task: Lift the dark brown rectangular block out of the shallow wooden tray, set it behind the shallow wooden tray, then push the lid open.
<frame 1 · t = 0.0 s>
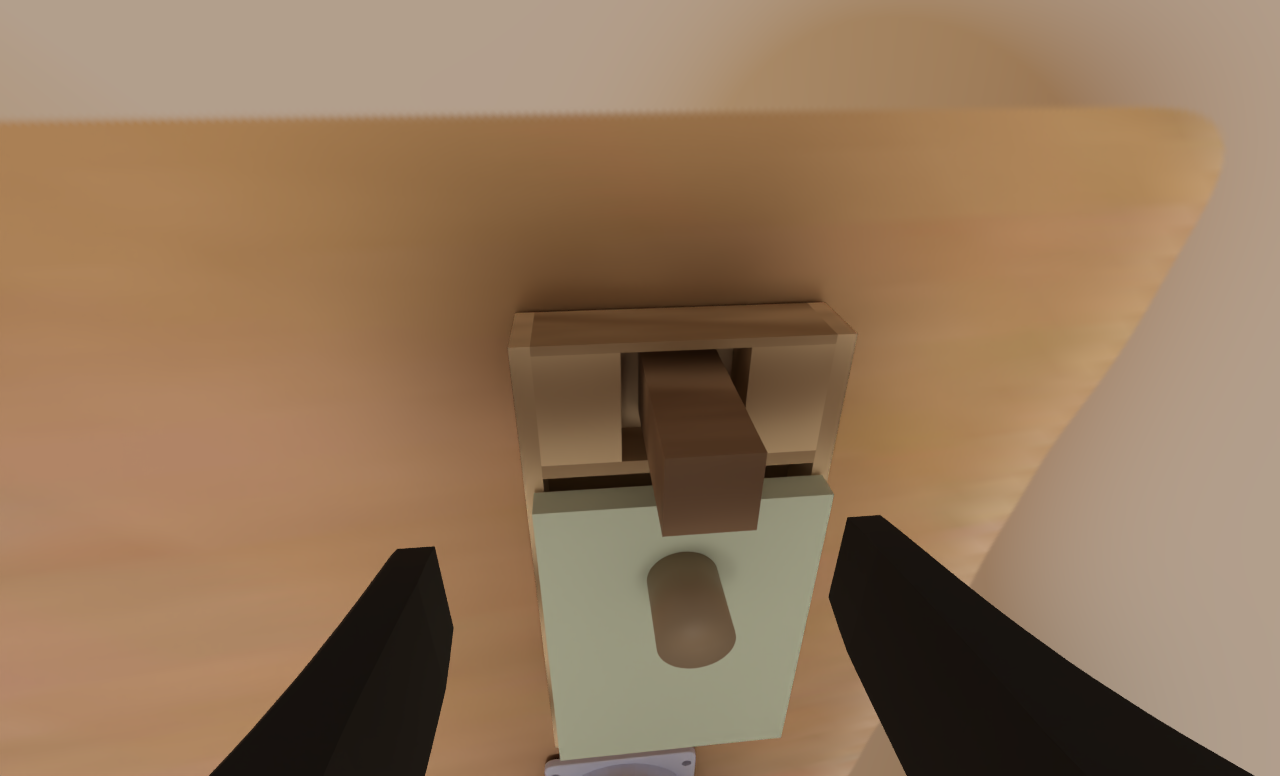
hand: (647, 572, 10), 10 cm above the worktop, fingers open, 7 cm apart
shallow wooden tray: (665, 539, 23), on the worktop
dark brown rectangular block: (674, 376, 19), point 1 cm above the worktop, touching shallow wooden tray
lid: (681, 664, 21), point 4 cm above the worktop, slide at 0.0 cm
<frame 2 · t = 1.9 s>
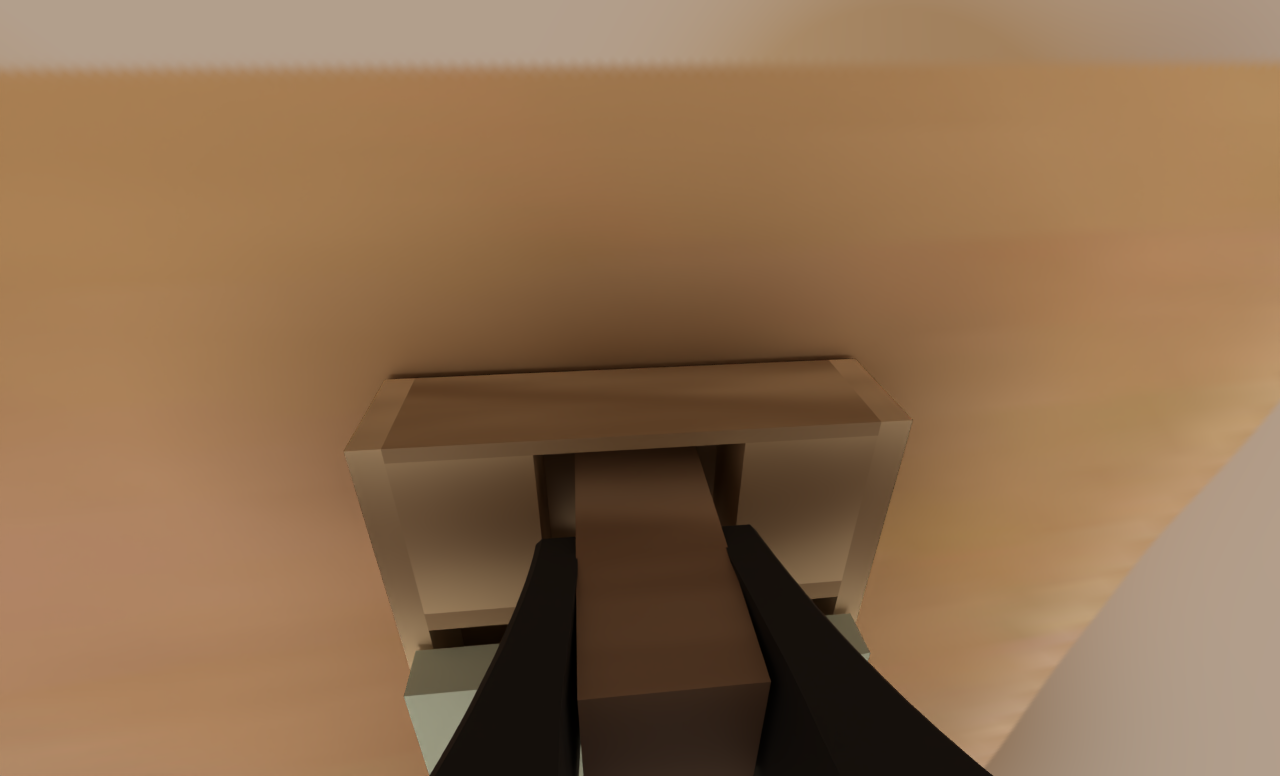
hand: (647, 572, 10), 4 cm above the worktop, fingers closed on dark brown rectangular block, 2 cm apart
shallow wooden tray: (630, 666, 17), on the worktop
dark brown rectangular block: (631, 469, 13), point 1 cm above the worktop, touching gripper, shallow wooden tray
when the fingers open (4 cm above the worktop, at t = 4.3 s): dark brown rectangular block stays where it is, on the worktop.
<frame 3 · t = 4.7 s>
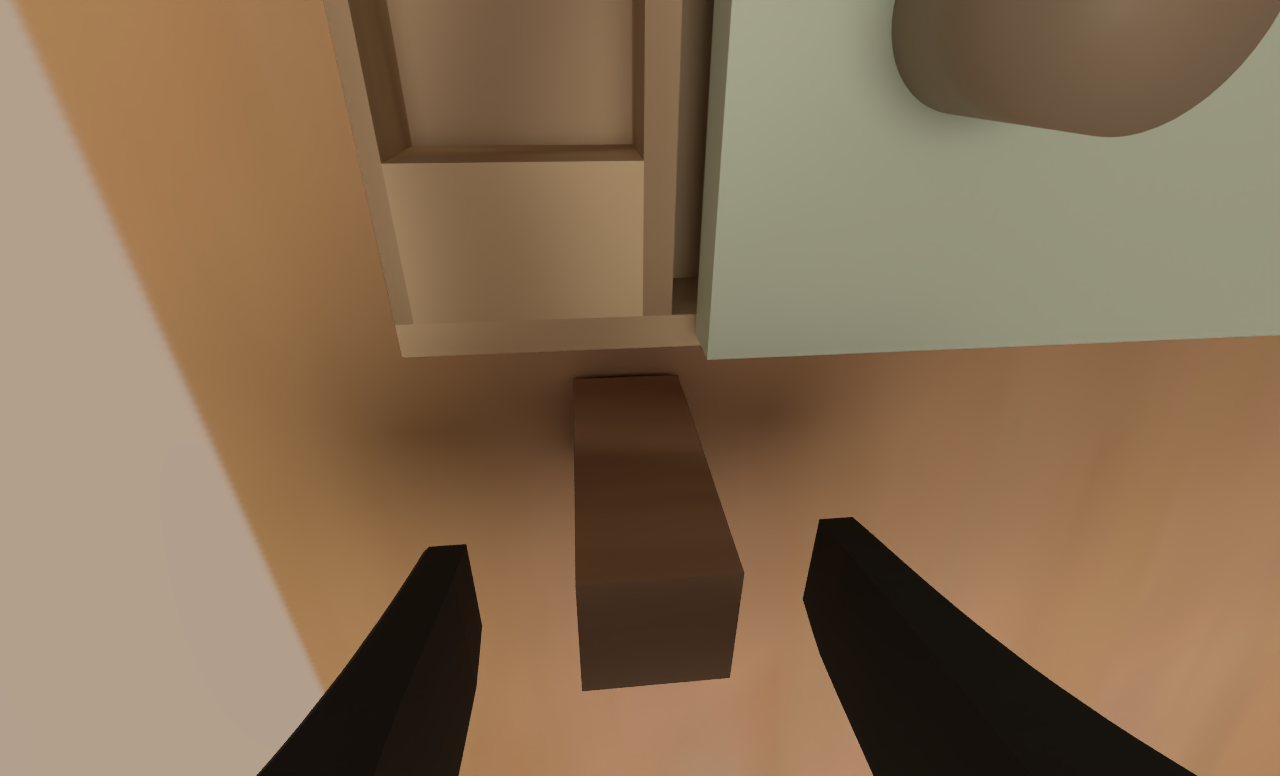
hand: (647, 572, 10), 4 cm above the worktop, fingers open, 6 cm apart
shallow wooden tray: (955, 23, 10), on the worktop
dark brown rectangular block: (626, 420, 14), on the worktop
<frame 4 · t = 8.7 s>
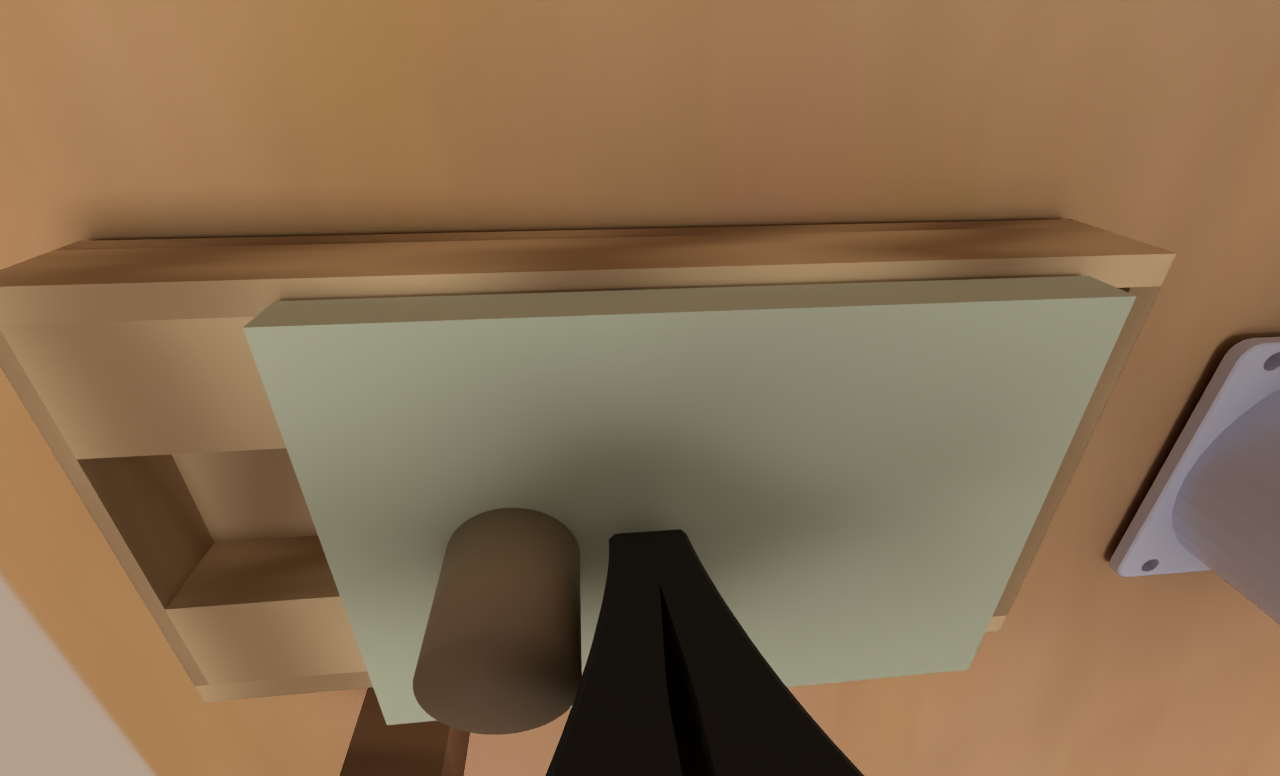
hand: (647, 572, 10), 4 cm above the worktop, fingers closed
shallow wooden tray: (627, 437, 14), on the worktop
dark brown rectangular block: (430, 671, 17), on the worktop
lid: (710, 575, 10), point 4 cm above the worktop, slide at 0.6 cm, touching gripper
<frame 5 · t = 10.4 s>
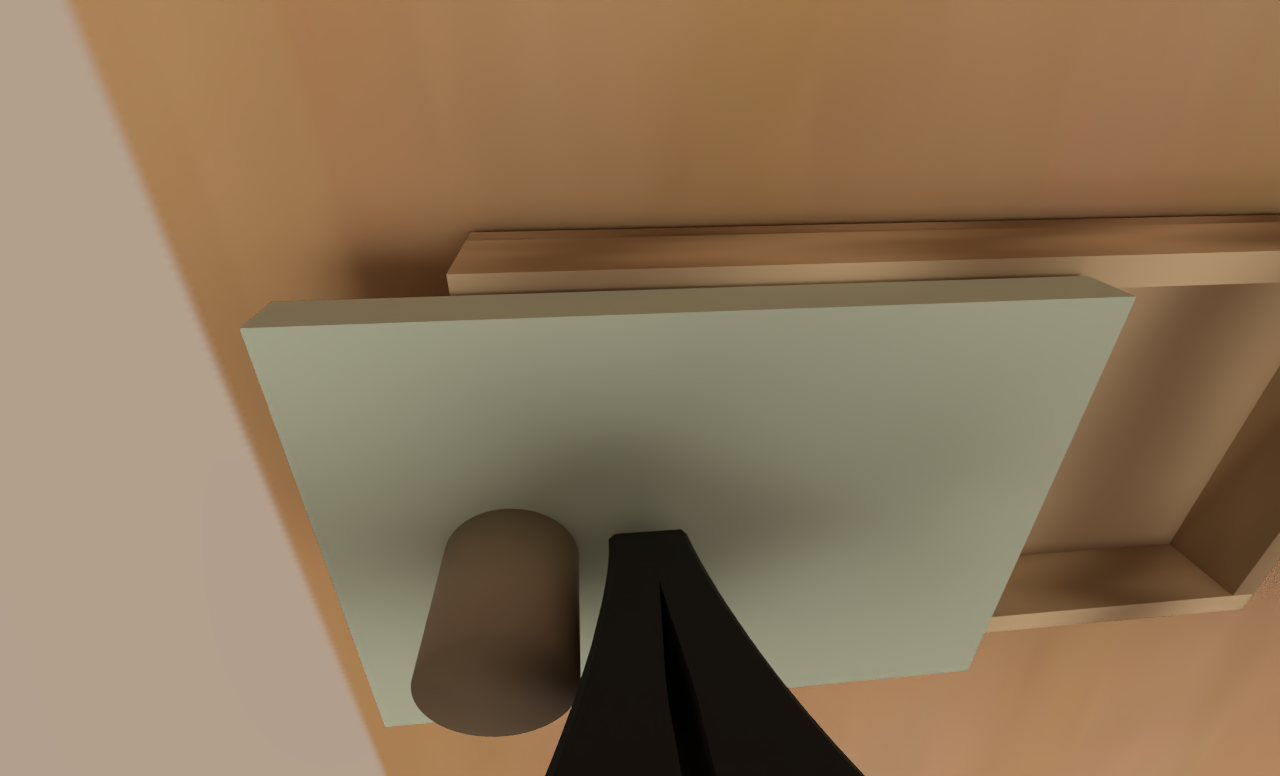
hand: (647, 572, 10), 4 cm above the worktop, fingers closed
shallow wooden tray: (904, 422, 15), on the worktop
lid: (710, 576, 10), point 4 cm above the worktop, slide at 7.6 cm, touching gripper
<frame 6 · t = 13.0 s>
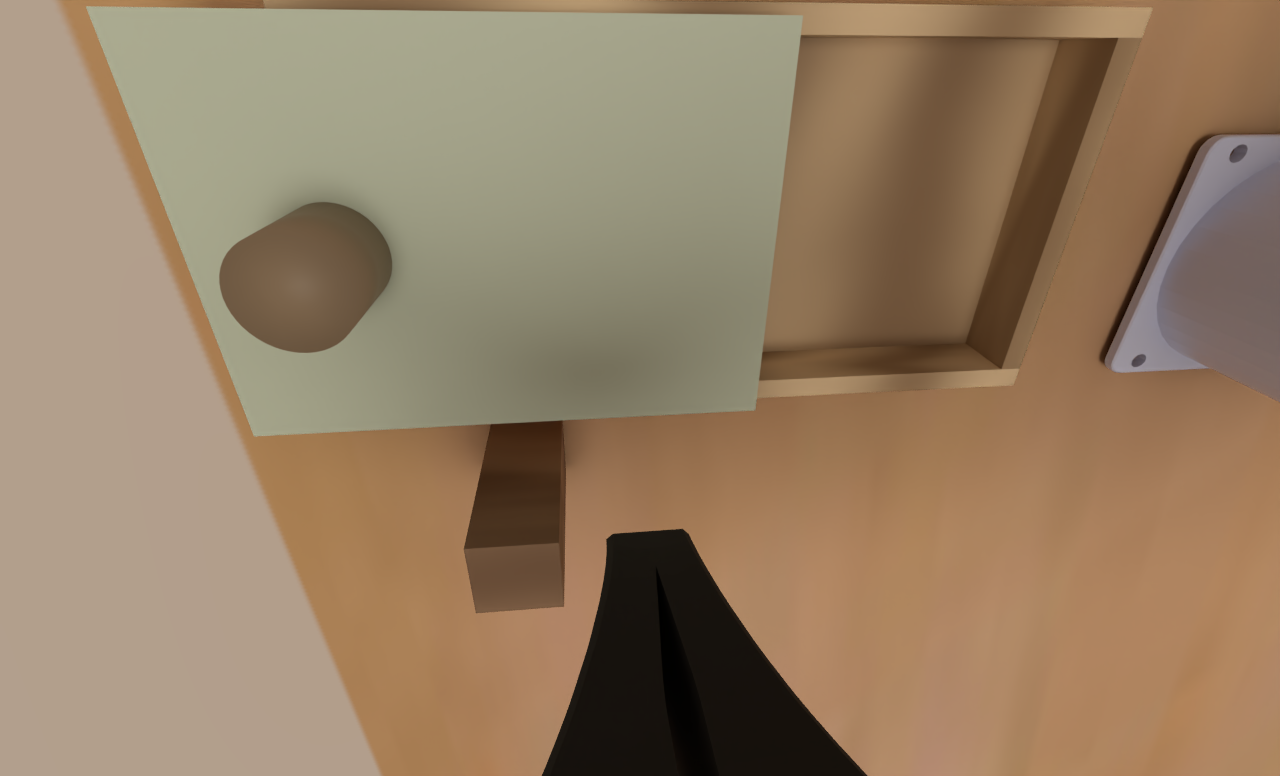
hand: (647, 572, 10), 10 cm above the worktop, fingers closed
shallow wooden tray: (711, 211, 17), on the worktop
dark brown rectangular block: (530, 448, 21), on the worktop
lid: (489, 262, 13), point 4 cm above the worktop, slide at 7.6 cm
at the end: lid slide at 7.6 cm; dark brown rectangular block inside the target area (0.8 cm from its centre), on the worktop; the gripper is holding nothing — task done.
